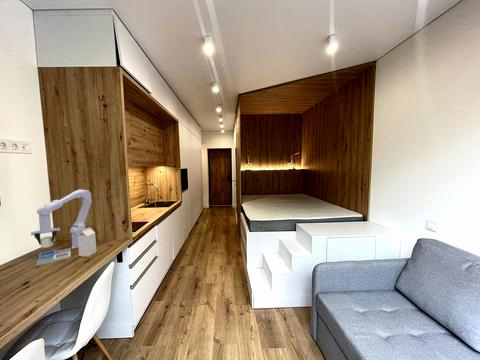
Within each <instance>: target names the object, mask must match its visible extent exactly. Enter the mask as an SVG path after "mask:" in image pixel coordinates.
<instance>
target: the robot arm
mask: <svg viewBox="0 0 480 360" xmlns="http://www.w3.org/2000/svg"><path fill="white" fill-rule="evenodd" d="M73 199H80V200H81V202H82V204H81V207H80V210H79V211H78V216H77V219H75V220H76V221H75V222H74V223H73V225H72V226H71V227H70V228H69V232H70V234H71V250H73V249H79V247H78V235H79V234H80V233H81V232H82V230H84V229H86V225H85V222H86V219H87V217H88V213H89V211H90V208H91V205H92V202H93V200H92V193H91V192H90V191H89V190H88V189H77V190H75V191H73V192H71V193H70V194H68V195H66V196H64V197H63V198H61V199H53V200H52V201H50V202H49V203H48V204H44V206H43V205H42V206H39V207H38V208H37V210H36V213H37V215H38V223H39V230H33V231H31V232H30V236H33V237H34V238H35V239H36V240H37V242H38V245H40V246H41V242H40V239H41V235H42V234H47V233H51V237H52V242H53V243H55V237H56V235H57V233H58V232H60V231H61V229H60V228H61V227H56V228H55V227H54V228H52V222H51V221H52V220H51V214H52V212H54V211H56V210H57V209H59V208H61V207H63V204H65V203H67V202H70V201H71V200H73Z"/></svg>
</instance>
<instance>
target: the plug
mask: <svg viewBox="0 0 480 360" xmlns="http://www.w3.org/2000/svg"><path fill="white" fill-rule="evenodd" d="M40 242H41V245H40V248H50V247H51V246H53V245H54V242H52V236H44V237H42V238H40Z"/></svg>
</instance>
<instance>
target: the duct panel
mask: <svg viewBox="0 0 480 360" xmlns="http://www.w3.org/2000/svg"><path fill="white" fill-rule="evenodd" d="M71 253H72V247H68V248H64V249H58V250H57V249H56V254H55V255H54V256H51V257H48V258H41V259H39V258H38V259H37V261H36V264H35V266H40V265H41V266H42V265H45V264H50V263H54V262H59V261H64V260H67V259H71V257H72V255H71ZM50 254H54V252H52V253H47V254H42V256H45V255H50Z"/></svg>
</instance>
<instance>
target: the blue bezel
mask: <svg viewBox="0 0 480 360" xmlns="http://www.w3.org/2000/svg"><path fill="white" fill-rule="evenodd" d="M56 251H57V249H51V250H49V251H43V252H39V254H38V258H39V259H41V258H48V257H51V256H54V255H55V254H56ZM52 252H54V254H50V255H45V256H42V254H47V253H52Z"/></svg>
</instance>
